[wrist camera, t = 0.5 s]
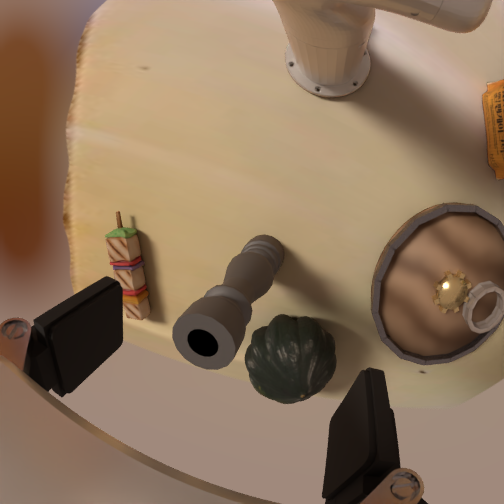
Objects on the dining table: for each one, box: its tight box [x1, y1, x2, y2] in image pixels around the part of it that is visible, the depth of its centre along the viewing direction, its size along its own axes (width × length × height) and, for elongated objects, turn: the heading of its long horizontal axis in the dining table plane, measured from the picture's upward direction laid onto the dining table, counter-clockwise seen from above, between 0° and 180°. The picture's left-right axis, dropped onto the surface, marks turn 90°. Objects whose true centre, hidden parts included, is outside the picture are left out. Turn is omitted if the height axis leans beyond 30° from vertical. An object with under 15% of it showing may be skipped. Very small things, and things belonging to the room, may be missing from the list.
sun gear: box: [432, 270, 472, 313], centre depth 38 cm, size 7×7×2 cm
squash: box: [245, 314, 336, 404], centre depth 44 cm, size 14×15×15 cm
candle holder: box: [173, 235, 284, 370], centre depth 35 cm, size 6×6×25 cm
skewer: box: [105, 211, 151, 320], centre depth 51 cm, size 21×6×5 cm, turn 4°
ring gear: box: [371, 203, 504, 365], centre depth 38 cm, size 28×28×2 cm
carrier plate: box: [371, 203, 504, 356], centre depth 38 cm, size 28×28×4 cm
